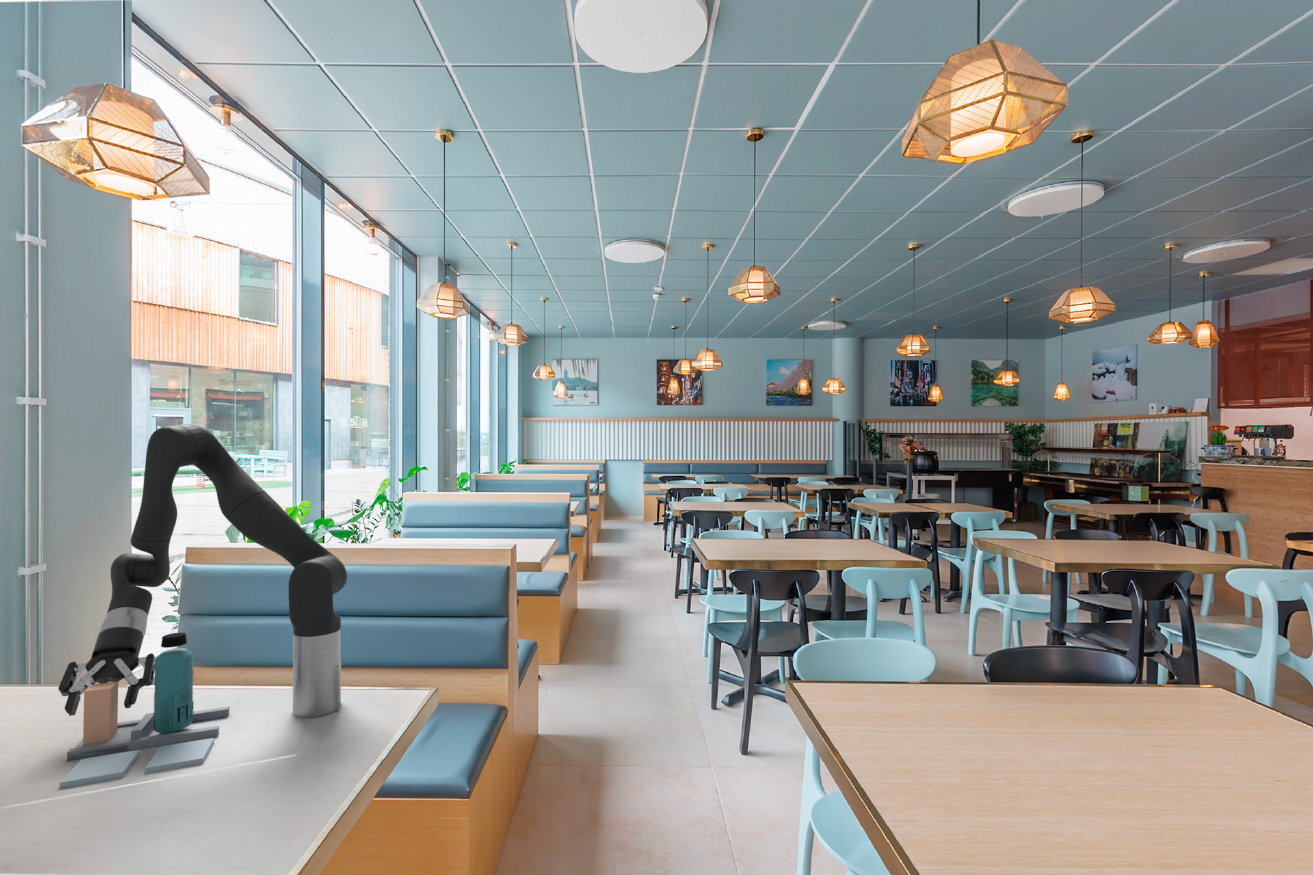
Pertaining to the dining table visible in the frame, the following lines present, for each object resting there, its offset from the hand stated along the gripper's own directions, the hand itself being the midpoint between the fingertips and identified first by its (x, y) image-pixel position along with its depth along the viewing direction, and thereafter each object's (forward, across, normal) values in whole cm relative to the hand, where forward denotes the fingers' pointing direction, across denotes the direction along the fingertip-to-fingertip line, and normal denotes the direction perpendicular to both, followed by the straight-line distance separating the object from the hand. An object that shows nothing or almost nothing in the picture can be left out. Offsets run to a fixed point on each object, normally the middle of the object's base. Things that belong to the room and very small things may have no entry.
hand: (99, 709), depth 122 cm
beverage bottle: (+5, +12, +6) cm, 14 cm away
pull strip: (+4, +8, +5) cm, 11 cm away
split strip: (+14, +10, -4) cm, 18 cm away
